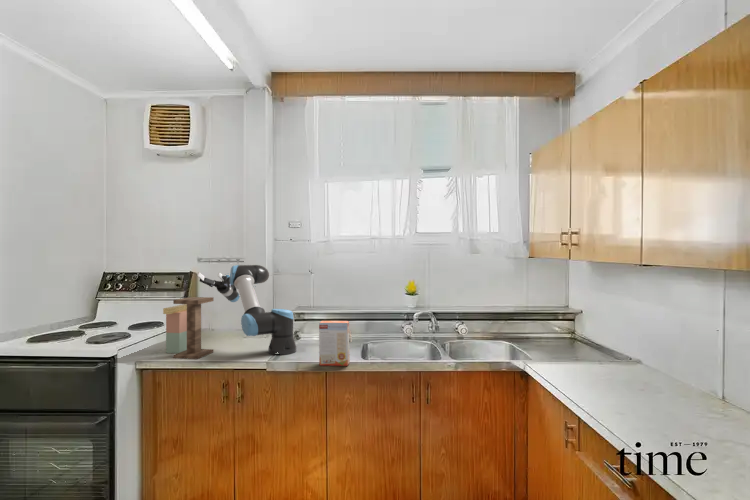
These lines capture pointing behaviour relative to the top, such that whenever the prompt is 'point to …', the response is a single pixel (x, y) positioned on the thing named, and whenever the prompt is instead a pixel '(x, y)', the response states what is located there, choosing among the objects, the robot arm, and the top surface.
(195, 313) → the wooden stand
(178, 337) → the bottom block
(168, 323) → the top block
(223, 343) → the top surface
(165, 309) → the brass bar
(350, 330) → the architectural model
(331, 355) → the cracker box
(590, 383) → the top surface
